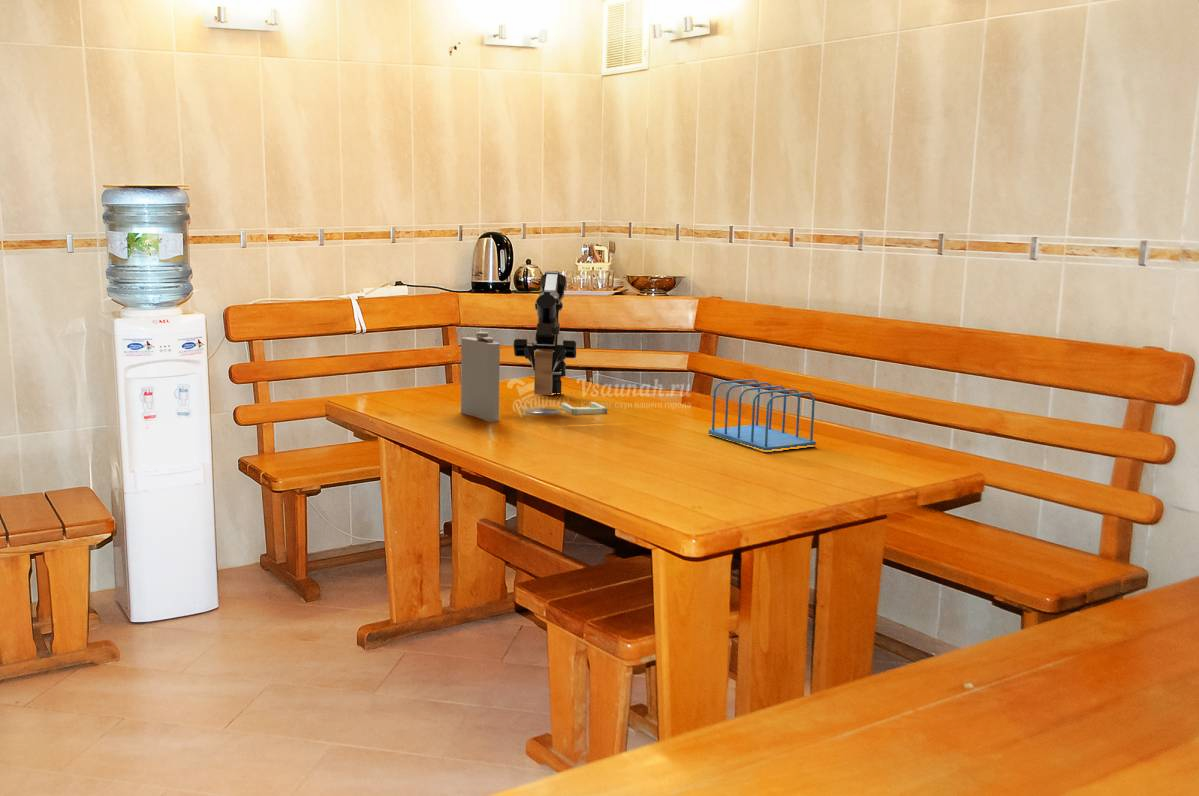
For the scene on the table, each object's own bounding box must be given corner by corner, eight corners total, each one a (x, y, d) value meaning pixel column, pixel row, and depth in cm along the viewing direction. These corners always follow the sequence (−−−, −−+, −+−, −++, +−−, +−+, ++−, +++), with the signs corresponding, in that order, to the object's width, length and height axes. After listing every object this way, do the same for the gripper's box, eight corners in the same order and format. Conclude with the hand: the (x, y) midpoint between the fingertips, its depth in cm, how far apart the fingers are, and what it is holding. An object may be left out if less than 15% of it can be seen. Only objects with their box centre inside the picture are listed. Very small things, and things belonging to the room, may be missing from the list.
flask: (503, 420, 321) (504, 334, 316) (489, 422, 318) (490, 335, 314) (472, 411, 334) (473, 328, 330) (458, 412, 331) (459, 329, 327)
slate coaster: (516, 413, 333) (516, 411, 333) (541, 408, 341) (541, 406, 341) (543, 418, 326) (543, 416, 326) (568, 413, 334) (568, 411, 334)
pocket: (560, 409, 341) (561, 403, 340) (594, 408, 344) (594, 402, 344) (572, 416, 330) (572, 409, 330) (607, 414, 334) (607, 408, 334)
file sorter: (707, 436, 308) (710, 381, 305) (756, 431, 317) (759, 378, 314) (765, 454, 287) (768, 395, 284) (816, 448, 295) (819, 391, 293)
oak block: (535, 391, 335) (536, 349, 333) (552, 392, 335) (553, 349, 333) (534, 394, 330) (535, 351, 328) (551, 395, 330) (551, 351, 328)
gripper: (514, 311, 332) (510, 353, 323) (576, 313, 332) (574, 355, 323) (516, 334, 342) (512, 375, 333) (577, 336, 341) (574, 377, 332)
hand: (543, 370), depth 330 cm, fingers closed on oak block, 5 cm apart
